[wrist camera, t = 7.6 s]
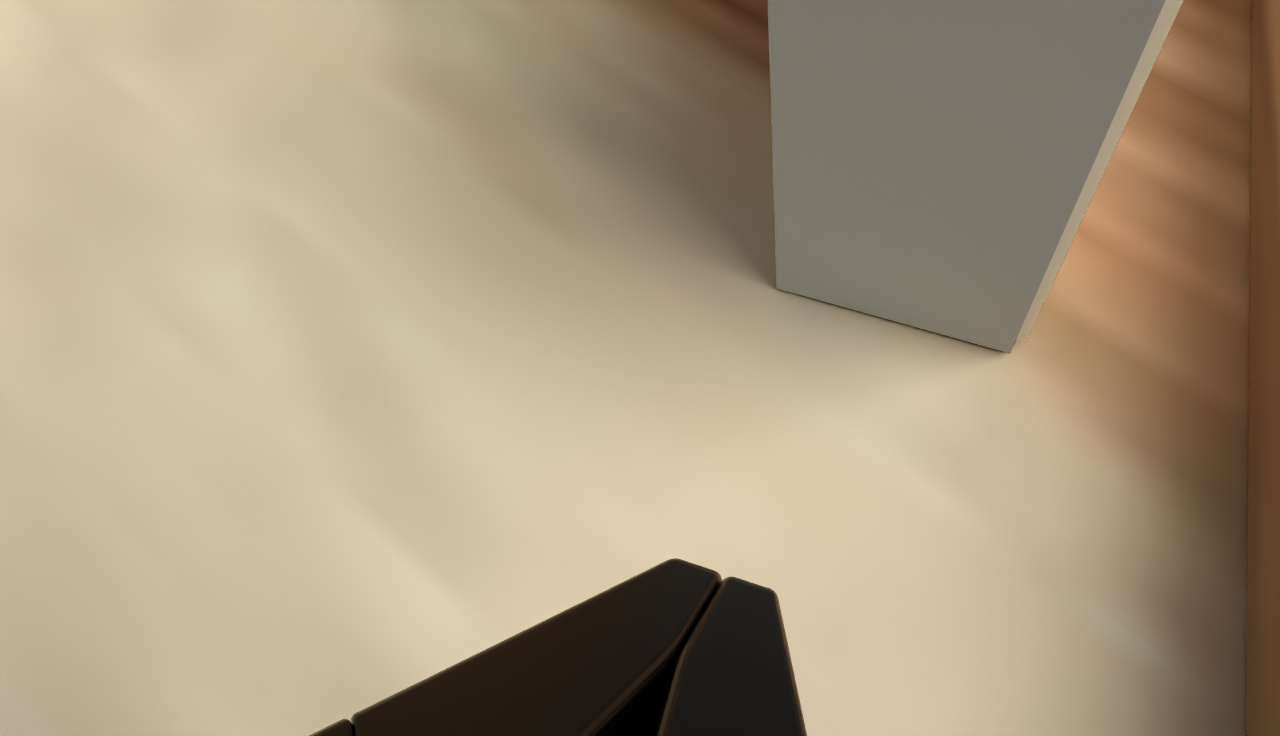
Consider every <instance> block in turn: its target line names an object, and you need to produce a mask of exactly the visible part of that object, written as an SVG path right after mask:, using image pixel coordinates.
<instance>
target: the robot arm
mask: <svg viewBox="0 0 1280 736" xmlns="http://www.w3.org/2000/svg"><path fill="white" fill-rule="evenodd" d="M310 736H807V733H806V729H805V724H804V719H803V714H802V709H801V705H800V700H799V695H798V690H797V686H796V681H795V676H794V671H793V667H792V662H791V657H790V652H789V648H788V643H787V638H786V633H785V629H784V624H783V619H782V614H781V610H780V605H779V600H778V597H777V595H776V593H775V592H774V591H773V590H772V589H770V588H767V587H763V586H760V585H757V584H754V583H751V582H748V581H745V580H742V579H739V578H735V577H728V578H725V579H724V580H723V581H722V578H721V575H720V574H719V573H718V572H716V571H714V570H711V569H708V568H705V567H702V566H699V565H696V564H693V563H690V562H687V561H684V560H680V559H670V560H667V561H665V562H663V563H661V564H659V565H657V566H655V567H653V568H651V569H649V570H647V571H645V572H643V573H641V574H639V575H637V576H635V577H632V578H630V579H628V580H626V581H624V582H622V583H620V584H618V585H616V586H614V587H612V588H610V589H608V590H606V591H604V592H602V593H600V594H598V595H596V596H594V597H592V598H590V599H588V600H586V601H584V602H582V603H579V604H577V605H575V606H573V607H571V608H569V609H567V610H565V611H563V612H561V613H559V614H557V615H555V616H553V617H551V618H549V619H547V620H545V621H543V622H541V623H539V624H537V625H535V626H533V627H531V628H529V629H527V630H524V631H522V632H520V633H518V634H516V635H514V636H512V637H510V638H508V639H506V640H504V641H502V642H500V643H498V644H496V645H494V646H492V647H490V648H488V649H486V650H484V651H482V652H480V653H478V654H476V655H474V656H472V657H469V658H467V659H465V660H463V661H461V662H459V663H457V664H455V665H453V666H451V667H449V668H447V669H445V670H443V671H441V672H439V673H437V674H435V675H433V676H431V677H429V678H427V679H425V680H423V681H421V682H419V683H417V684H414V685H412V686H410V687H408V688H406V689H404V690H402V691H400V692H398V693H396V694H394V695H392V696H390V697H388V698H386V699H384V700H382V701H380V702H378V703H376V704H374V705H372V706H370V707H368V708H366V709H364V710H361V711H359V712H357V713H355V714H354V715H353V716H352V719H351V722H350V721H349V720H348V719H342V720H340V721H338V722H336V723H334V724H332V725H330V726H328V727H326V728H324V729H322V730H320V731H318V732H316V733H314V734H312V735H310Z"/></svg>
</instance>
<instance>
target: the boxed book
mask: <svg viewBox="0 0 1280 736" xmlns="http://www.w3.org/2000/svg"><path fill="white" fill-rule="evenodd" d="M1182 3H1183V0H768V30H769V62H770V94H771V127H772V159H773V191H774V224H775V256H776V288H777V289H781V290H785V291H788V292H792V293H795V294H799V295H802V296H806V297H810V298H813V299H817V300H820V301H824V302H827V303H831V304H835V305H838V306H842V307H845V308H849V309H853V310H856V311H860V312H863V313H867V314H870V315H874V316H878V317H881V318H885V319H888V320H892V321H896V322H899V323H903V324H906V325H910V326H913V327H917V328H921V329H924V330H928V331H931V332H935V333H939V334H942V335H946V336H949V337H953V338H956V339H960V340H964V341H967V342H971V343H974V344H978V345H982V346H985V347H989V348H992V349H996V350H999V351H1003V352H1007V353H1010V352H1011V350H1012V348H1013V345H1014V343H1015V341H1016V340H1017V341H1021V342H1024V343H1026V340H1027V338H1028V336H1029V334H1030V332H1031V330H1032V327H1033V325H1034V323H1035V321H1036V319H1037V317H1038V314H1039V312H1040V310H1041V308H1042V306H1043V304H1044V301H1045V299H1046V297H1047V295H1048V293H1049V291H1050V288H1051V286H1052V284H1053V282H1054V280H1055V278H1056V275H1057V273H1058V271H1059V269H1060V267H1061V265H1062V262H1063V260H1064V258H1065V256H1066V254H1067V252H1068V249H1069V247H1070V245H1071V243H1072V241H1073V239H1074V236H1075V234H1076V232H1077V230H1078V228H1079V226H1080V223H1081V221H1082V219H1083V217H1084V215H1085V213H1086V211H1087V208H1088V206H1089V204H1090V202H1091V200H1092V198H1093V195H1094V193H1095V191H1096V189H1097V187H1098V185H1099V182H1100V180H1101V178H1102V176H1103V174H1104V172H1105V169H1106V167H1107V165H1108V163H1109V161H1110V159H1111V156H1112V154H1113V152H1114V150H1115V148H1116V146H1117V143H1118V141H1119V139H1120V137H1121V135H1122V133H1123V130H1124V128H1125V126H1126V124H1127V122H1128V120H1129V117H1130V115H1131V113H1132V111H1133V109H1134V107H1135V104H1136V102H1137V100H1138V98H1139V96H1140V94H1141V91H1142V89H1143V87H1144V85H1145V83H1146V81H1147V78H1148V76H1149V74H1150V72H1151V70H1152V68H1153V65H1154V63H1155V61H1156V59H1157V57H1158V55H1159V52H1160V50H1161V48H1162V46H1163V44H1164V42H1165V39H1166V37H1167V35H1168V33H1169V31H1170V29H1171V26H1172V24H1173V22H1174V20H1175V18H1176V16H1177V13H1178V11H1179V9H1180V7H1181V5H1182Z"/></svg>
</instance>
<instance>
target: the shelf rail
mask: <svg viewBox="0 0 1280 736" xmlns="http://www.w3.org/2000/svg"><path fill="white" fill-rule="evenodd" d="M1246 736H1280V0H1252V63H1251V182H1250V301H1249V420H1248V538H1247V657H1246Z"/></svg>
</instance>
